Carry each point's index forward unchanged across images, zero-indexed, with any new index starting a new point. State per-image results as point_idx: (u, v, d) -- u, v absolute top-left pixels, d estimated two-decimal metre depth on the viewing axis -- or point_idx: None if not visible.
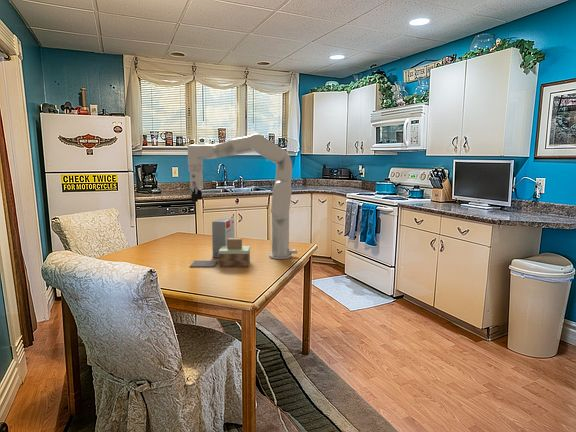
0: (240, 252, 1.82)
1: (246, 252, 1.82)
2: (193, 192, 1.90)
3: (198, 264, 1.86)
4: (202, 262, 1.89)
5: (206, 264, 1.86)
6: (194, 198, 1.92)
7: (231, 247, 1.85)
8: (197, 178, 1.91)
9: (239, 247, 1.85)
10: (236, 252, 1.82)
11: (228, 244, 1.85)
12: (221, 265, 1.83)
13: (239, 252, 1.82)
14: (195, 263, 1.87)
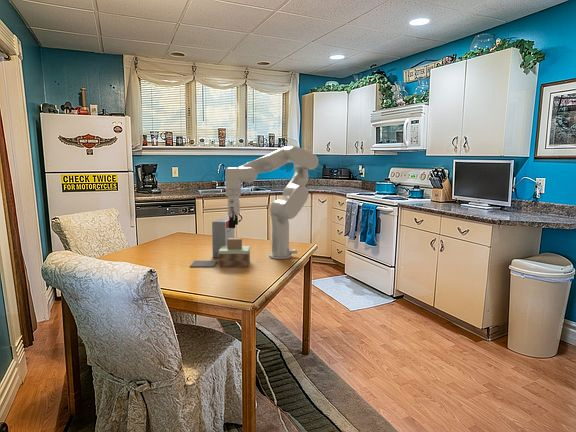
0: (240, 252, 1.82)
1: (246, 252, 1.82)
2: (231, 218, 1.77)
3: (198, 264, 1.86)
4: (202, 262, 1.89)
5: (206, 264, 1.86)
6: (232, 225, 1.79)
7: (231, 247, 1.85)
8: (235, 203, 1.78)
9: (239, 247, 1.85)
10: (236, 252, 1.82)
11: (228, 244, 1.85)
12: (221, 265, 1.83)
13: (239, 252, 1.82)
14: (195, 263, 1.87)
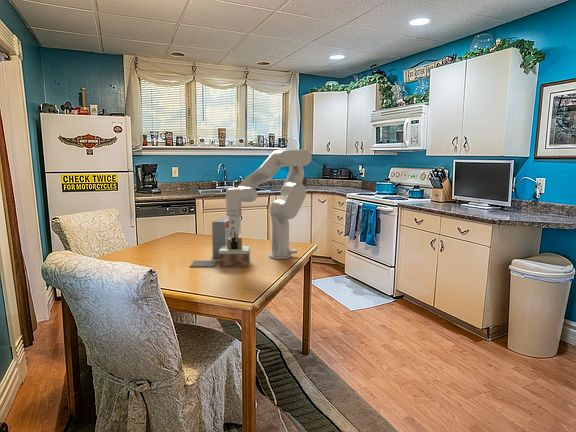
0: (240, 252, 1.82)
1: (246, 252, 1.82)
2: (233, 240, 1.82)
3: (198, 264, 1.86)
4: (202, 262, 1.89)
5: (206, 264, 1.86)
6: (234, 246, 1.84)
7: None
8: (236, 224, 1.80)
9: (239, 247, 1.85)
10: (236, 252, 1.82)
11: (228, 244, 1.85)
12: (221, 265, 1.83)
13: (239, 252, 1.82)
14: (195, 263, 1.87)
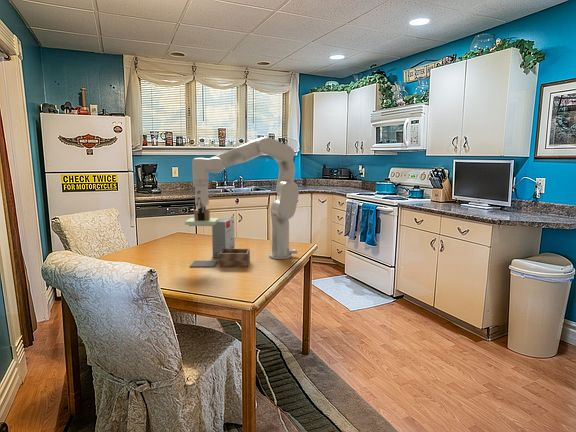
0: (207, 223, 1.79)
1: (213, 223, 1.79)
2: (200, 211, 1.80)
3: (198, 264, 1.86)
4: (202, 262, 1.89)
5: (206, 264, 1.86)
6: (201, 217, 1.81)
7: None
8: (203, 194, 1.78)
9: (206, 218, 1.83)
10: (202, 223, 1.79)
11: (195, 215, 1.82)
12: (221, 265, 1.83)
13: (206, 223, 1.79)
14: (195, 263, 1.87)
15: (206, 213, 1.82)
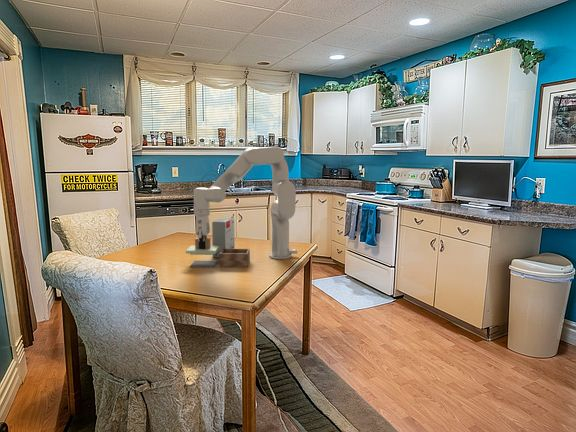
0: (207, 252, 1.82)
1: (213, 252, 1.82)
2: (201, 240, 1.82)
3: (198, 264, 1.86)
4: (202, 262, 1.89)
5: (206, 264, 1.86)
6: (202, 246, 1.83)
7: None
8: (204, 223, 1.80)
9: (207, 247, 1.85)
10: (203, 252, 1.82)
11: (196, 244, 1.85)
12: (221, 265, 1.83)
13: (206, 252, 1.82)
14: (195, 263, 1.87)
15: (207, 242, 1.85)
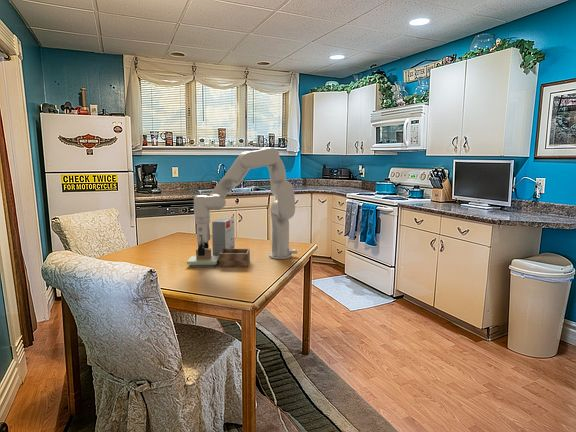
0: (208, 263, 1.83)
1: (214, 263, 1.83)
2: (200, 246, 1.80)
3: None
4: None
5: None
6: (201, 252, 1.81)
7: (200, 257, 1.86)
8: (204, 231, 1.80)
9: (208, 257, 1.86)
10: (204, 263, 1.83)
11: (197, 254, 1.86)
12: (221, 265, 1.83)
13: (207, 263, 1.83)
14: None
15: (208, 252, 1.86)
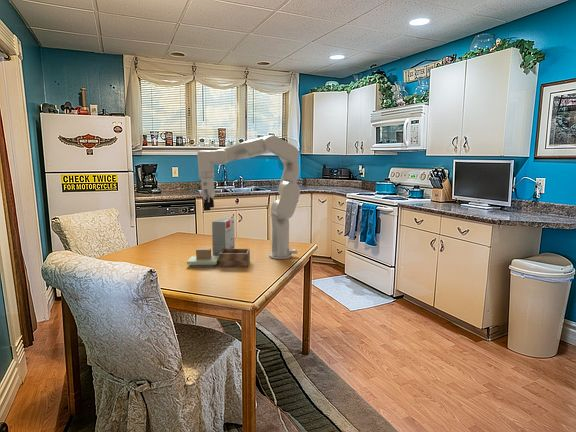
0: (208, 263, 1.83)
1: (214, 263, 1.83)
2: (205, 201, 1.80)
3: None
4: None
5: None
6: (207, 207, 1.81)
7: (200, 257, 1.86)
8: (209, 185, 1.81)
9: (208, 257, 1.86)
10: (204, 263, 1.83)
11: (197, 254, 1.86)
12: (221, 265, 1.83)
13: (207, 263, 1.83)
14: None
15: (208, 252, 1.86)
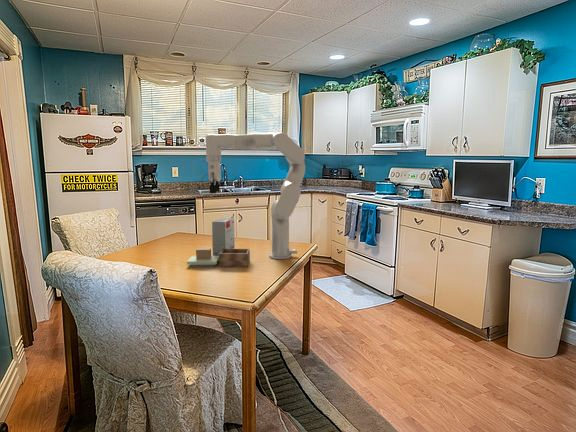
0: (208, 263, 1.83)
1: (214, 263, 1.83)
2: (212, 183, 1.84)
3: None
4: None
5: None
6: (212, 189, 1.85)
7: (200, 257, 1.86)
8: (216, 169, 1.85)
9: (208, 257, 1.86)
10: (204, 263, 1.83)
11: (197, 254, 1.86)
12: (221, 265, 1.83)
13: (207, 263, 1.83)
14: None
15: (208, 252, 1.86)
